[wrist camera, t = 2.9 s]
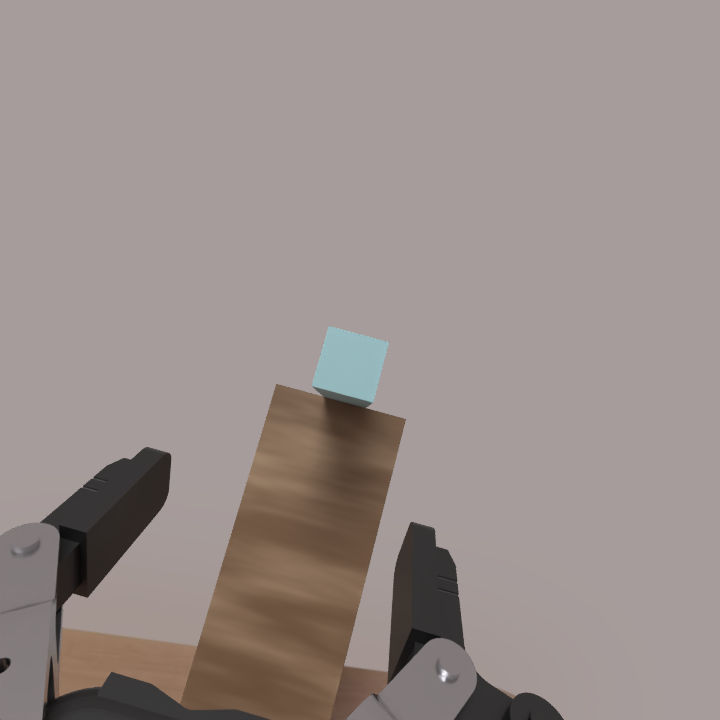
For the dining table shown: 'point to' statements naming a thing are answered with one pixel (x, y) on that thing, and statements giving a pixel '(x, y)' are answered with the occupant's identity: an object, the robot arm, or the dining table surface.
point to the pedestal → (296, 560)
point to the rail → (350, 367)
